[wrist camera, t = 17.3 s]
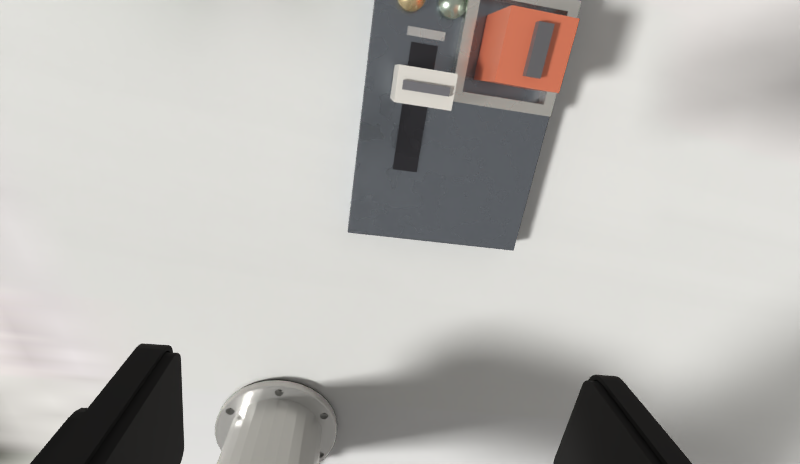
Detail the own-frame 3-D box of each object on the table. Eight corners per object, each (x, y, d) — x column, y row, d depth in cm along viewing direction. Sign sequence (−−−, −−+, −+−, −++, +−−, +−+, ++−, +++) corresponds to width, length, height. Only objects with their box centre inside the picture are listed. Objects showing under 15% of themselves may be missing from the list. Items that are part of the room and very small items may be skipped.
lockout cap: (528, 89, 33) (563, 93, 27) (473, 79, 32) (497, 82, 27) (544, 26, 31) (584, 17, 26) (486, 15, 31) (515, 3, 25)
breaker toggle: (440, 105, 33) (452, 111, 29) (390, 98, 32) (394, 102, 28) (446, 73, 32) (459, 74, 28) (394, 64, 31) (399, 64, 27)
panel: (506, 241, 40) (517, 256, 37) (348, 224, 38) (347, 237, 35) (570, -6, 33) (591, -13, 30) (379, -44, 31) (381, -56, 28)
